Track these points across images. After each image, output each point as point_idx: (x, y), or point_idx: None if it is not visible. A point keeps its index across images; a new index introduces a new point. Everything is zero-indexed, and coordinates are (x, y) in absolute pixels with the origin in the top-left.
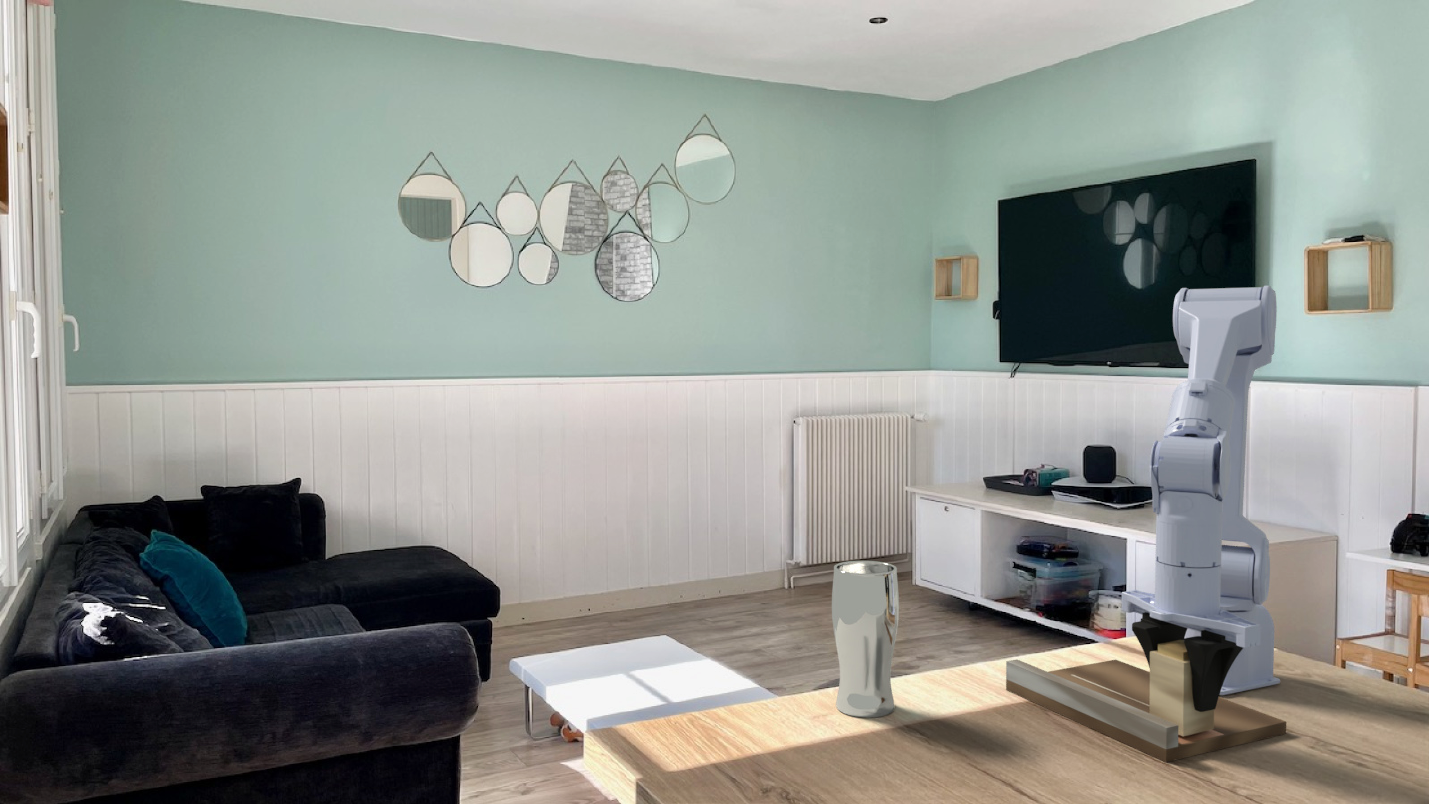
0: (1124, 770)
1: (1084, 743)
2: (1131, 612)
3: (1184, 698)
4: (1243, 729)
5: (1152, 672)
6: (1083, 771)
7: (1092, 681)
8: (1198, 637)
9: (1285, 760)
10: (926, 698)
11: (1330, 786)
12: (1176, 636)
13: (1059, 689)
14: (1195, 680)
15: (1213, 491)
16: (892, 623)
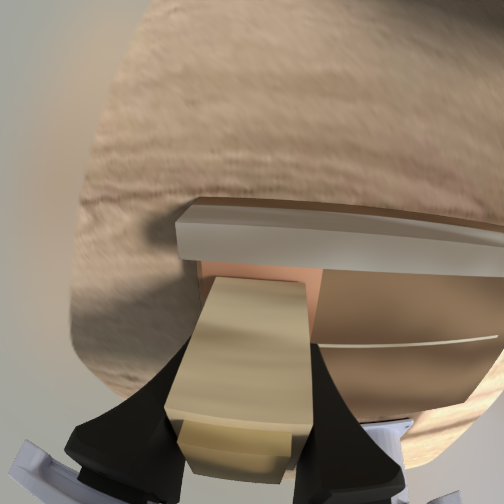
0: (204, 94)
1: (353, 130)
2: (430, 501)
3: (195, 332)
4: None
5: (299, 369)
6: (238, 21)
7: (470, 343)
8: (132, 486)
9: (152, 343)
10: None
11: (84, 314)
12: (297, 488)
13: (494, 240)
14: (169, 380)
15: None
16: None
